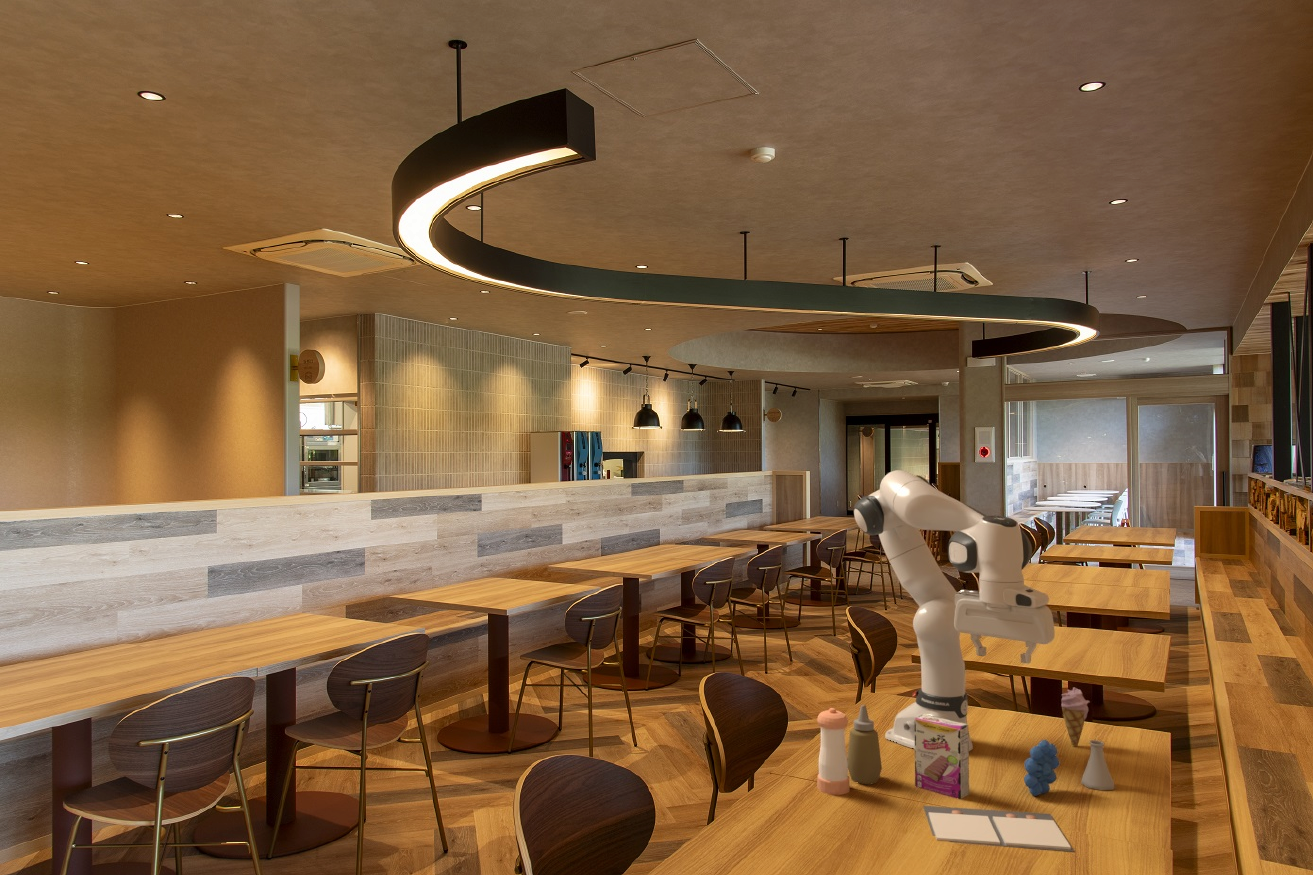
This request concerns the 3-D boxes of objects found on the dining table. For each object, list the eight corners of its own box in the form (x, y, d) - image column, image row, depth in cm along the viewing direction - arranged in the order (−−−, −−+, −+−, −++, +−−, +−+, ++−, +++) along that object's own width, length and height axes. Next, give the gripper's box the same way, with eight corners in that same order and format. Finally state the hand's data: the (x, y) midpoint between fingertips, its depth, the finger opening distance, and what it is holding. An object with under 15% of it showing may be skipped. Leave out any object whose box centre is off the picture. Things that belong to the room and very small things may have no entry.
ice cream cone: (1091, 744, 224) (1090, 687, 224) (1089, 751, 219) (1088, 693, 219) (1063, 739, 227) (1062, 684, 228) (1060, 746, 222) (1059, 689, 222)
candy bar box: (914, 789, 196) (913, 718, 196) (923, 782, 199) (922, 713, 200) (961, 802, 188) (960, 728, 188) (970, 795, 192) (969, 723, 192)
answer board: (934, 845, 168) (934, 838, 168) (923, 809, 185) (923, 803, 185) (1074, 855, 163) (1074, 848, 163) (1050, 817, 180) (1050, 811, 180)
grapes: (1040, 782, 199) (1039, 731, 199) (1067, 791, 193) (1066, 739, 194) (1009, 793, 193) (1008, 740, 193) (1036, 803, 187) (1036, 749, 187)
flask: (1119, 792, 193) (1118, 748, 193) (1085, 790, 194) (1084, 746, 194) (1109, 780, 200) (1108, 737, 200) (1076, 778, 201) (1075, 736, 201)
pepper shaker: (852, 788, 196) (851, 705, 197) (845, 800, 190) (844, 714, 190) (821, 783, 199) (820, 702, 200) (814, 795, 193) (812, 710, 193)
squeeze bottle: (883, 777, 203) (882, 702, 203) (880, 790, 195) (879, 712, 195) (849, 773, 205) (847, 699, 206) (845, 786, 198) (844, 709, 198)
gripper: (948, 590, 184) (949, 654, 183) (1044, 600, 169) (1046, 669, 169) (961, 586, 188) (962, 649, 188) (1056, 596, 174) (1058, 664, 173)
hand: (1003, 659), depth 178 cm, fingers open, 8 cm apart
